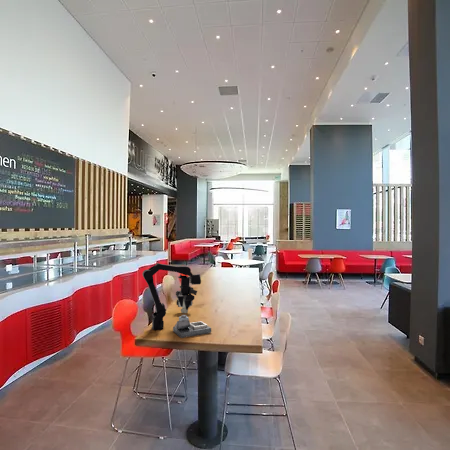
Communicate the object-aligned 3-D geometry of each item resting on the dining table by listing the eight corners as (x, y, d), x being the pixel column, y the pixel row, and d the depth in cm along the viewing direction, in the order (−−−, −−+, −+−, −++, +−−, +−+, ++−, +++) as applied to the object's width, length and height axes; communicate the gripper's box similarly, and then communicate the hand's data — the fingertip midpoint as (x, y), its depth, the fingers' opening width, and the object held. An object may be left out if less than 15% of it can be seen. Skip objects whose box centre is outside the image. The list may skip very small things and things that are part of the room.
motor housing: (179, 338, 184) (179, 324, 184) (171, 331, 196) (171, 318, 196) (211, 332, 194) (211, 319, 195) (201, 326, 207) (201, 314, 207)
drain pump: (181, 327, 204) (181, 317, 204) (178, 325, 209) (178, 315, 209) (188, 326, 207) (188, 316, 207) (185, 324, 211) (185, 314, 211)
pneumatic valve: (178, 311, 245) (178, 296, 245) (192, 312, 243) (192, 296, 243) (175, 313, 239) (176, 297, 239) (190, 314, 238) (190, 298, 238)
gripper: (202, 286, 205) (201, 310, 204) (190, 282, 221) (189, 304, 221) (186, 287, 199) (185, 311, 199) (175, 282, 215) (175, 305, 215)
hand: (184, 308), depth 209 cm, fingers open, 9 cm apart
